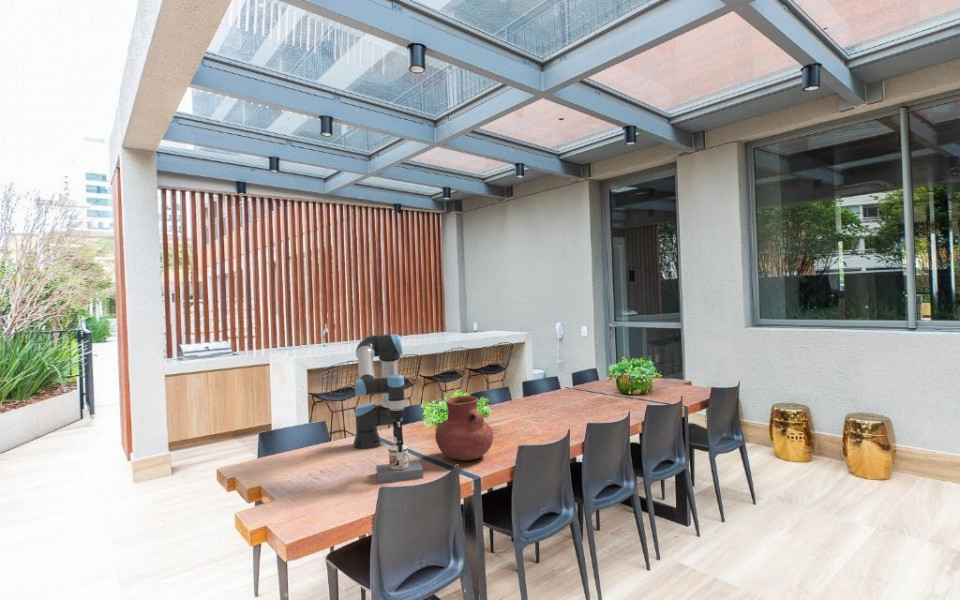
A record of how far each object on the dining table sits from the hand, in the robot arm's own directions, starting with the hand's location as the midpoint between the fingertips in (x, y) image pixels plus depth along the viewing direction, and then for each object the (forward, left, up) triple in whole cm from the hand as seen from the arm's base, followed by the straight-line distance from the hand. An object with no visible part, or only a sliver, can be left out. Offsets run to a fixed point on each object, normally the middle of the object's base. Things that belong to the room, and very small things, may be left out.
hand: (398, 454), depth 232 cm
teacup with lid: (+1, +1, -6) cm, 6 cm away
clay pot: (-15, +35, -10) cm, 39 cm away
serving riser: (0, 0, -10) cm, 10 cm away
